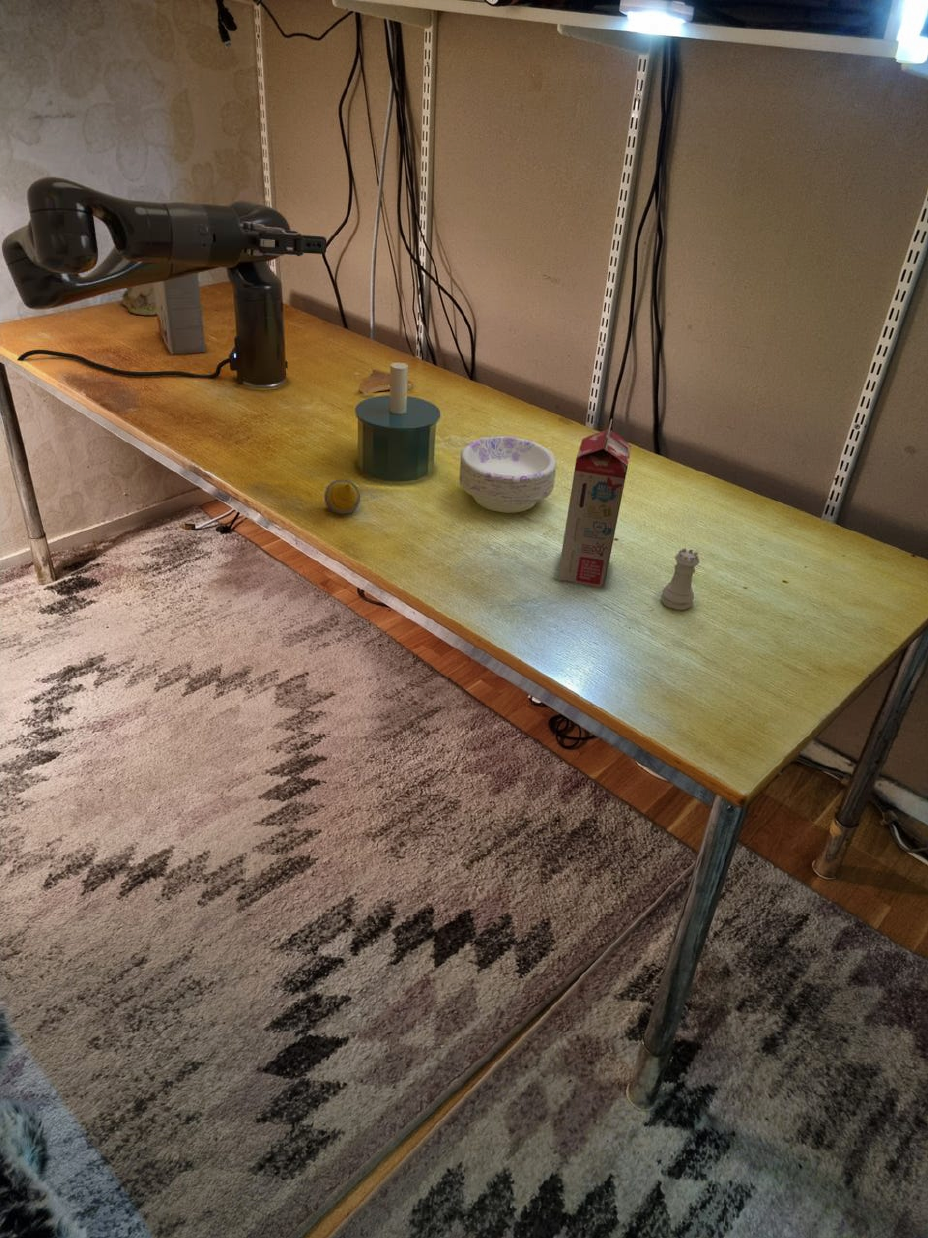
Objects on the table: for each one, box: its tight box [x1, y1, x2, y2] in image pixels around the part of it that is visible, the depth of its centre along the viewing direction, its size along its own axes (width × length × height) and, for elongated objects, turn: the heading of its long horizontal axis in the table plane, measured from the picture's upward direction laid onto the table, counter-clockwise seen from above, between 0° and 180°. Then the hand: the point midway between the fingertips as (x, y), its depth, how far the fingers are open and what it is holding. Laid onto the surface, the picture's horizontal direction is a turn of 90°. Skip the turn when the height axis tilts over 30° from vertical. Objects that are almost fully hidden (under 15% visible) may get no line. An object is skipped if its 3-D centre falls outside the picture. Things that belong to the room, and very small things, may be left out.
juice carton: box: [556, 418, 632, 589], centre depth 119 cm, size 7×7×22 cm
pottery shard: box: [358, 369, 412, 395], centre depth 177 cm, size 10×9×2 cm
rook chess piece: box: [660, 547, 700, 611], centre depth 118 cm, size 4×4×8 cm
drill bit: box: [323, 478, 361, 516], centre depth 132 cm, size 5×5×10 cm
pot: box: [357, 418, 437, 483], centre depth 146 cm, size 13×13×10 cm
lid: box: [354, 362, 441, 431], centre depth 141 cm, size 14×14×9 cm
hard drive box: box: [153, 273, 206, 356], centre depth 186 cm, size 16×8×20 cm, turn 25°
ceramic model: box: [121, 283, 157, 316], centre depth 208 cm, size 14×11×10 cm
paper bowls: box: [458, 436, 558, 514], centre depth 139 cm, size 15×15×8 cm
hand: (311, 242), depth 122 cm, fingers open, 8 cm apart
